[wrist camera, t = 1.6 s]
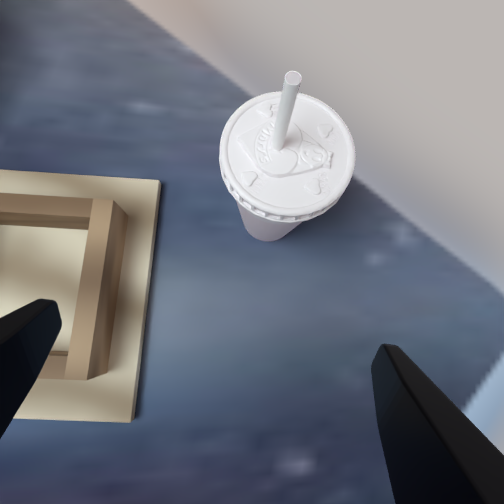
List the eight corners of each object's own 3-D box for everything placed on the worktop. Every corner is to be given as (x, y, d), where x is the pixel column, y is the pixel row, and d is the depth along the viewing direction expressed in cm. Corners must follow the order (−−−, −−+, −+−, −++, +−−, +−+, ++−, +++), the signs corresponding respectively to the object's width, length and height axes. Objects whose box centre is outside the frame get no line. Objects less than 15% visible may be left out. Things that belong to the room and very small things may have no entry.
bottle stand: (134, 419, 21) (113, 438, 18) (-96, 410, 21) (-168, 428, 17) (161, 184, 25) (148, 159, 21) (-34, 172, 24) (-83, 144, 21)
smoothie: (235, 168, 25) (238, -16, 12) (317, 187, 25) (415, 27, 12) (214, 248, 24) (189, 144, 10) (301, 269, 24) (391, 192, 10)
